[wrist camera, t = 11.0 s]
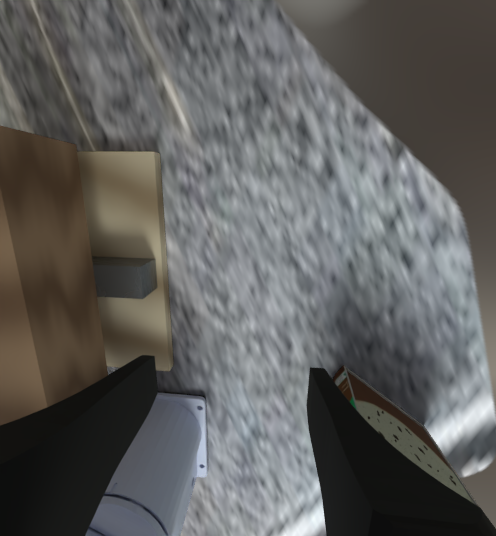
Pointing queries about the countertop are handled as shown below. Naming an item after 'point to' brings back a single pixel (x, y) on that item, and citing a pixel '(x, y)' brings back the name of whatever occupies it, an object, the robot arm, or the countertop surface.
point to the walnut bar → (44, 277)
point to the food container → (399, 430)
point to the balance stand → (128, 253)
